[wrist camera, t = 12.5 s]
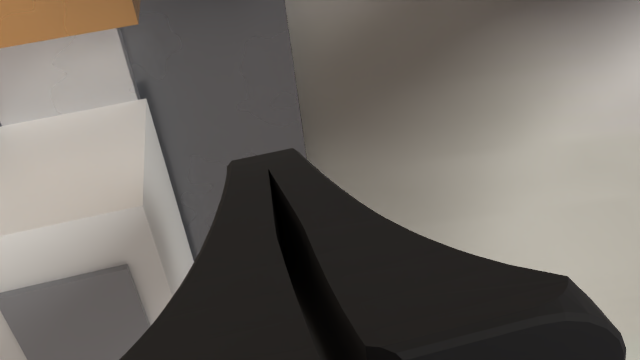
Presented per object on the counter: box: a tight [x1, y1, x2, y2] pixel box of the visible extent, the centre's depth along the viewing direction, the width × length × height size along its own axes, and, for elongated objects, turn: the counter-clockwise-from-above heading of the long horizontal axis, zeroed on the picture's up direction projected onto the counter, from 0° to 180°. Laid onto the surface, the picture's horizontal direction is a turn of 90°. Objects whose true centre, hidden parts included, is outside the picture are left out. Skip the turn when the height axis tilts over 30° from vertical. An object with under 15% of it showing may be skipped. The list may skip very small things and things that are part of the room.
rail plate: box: [0, 0, 307, 261], centre depth 21 cm, size 14×18×3 cm
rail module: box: [0, 98, 194, 360], centre depth 18 cm, size 4×8×6 cm, turn 7°
